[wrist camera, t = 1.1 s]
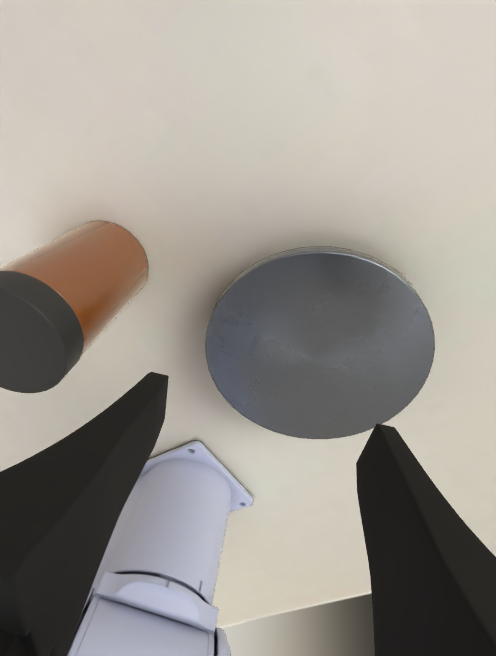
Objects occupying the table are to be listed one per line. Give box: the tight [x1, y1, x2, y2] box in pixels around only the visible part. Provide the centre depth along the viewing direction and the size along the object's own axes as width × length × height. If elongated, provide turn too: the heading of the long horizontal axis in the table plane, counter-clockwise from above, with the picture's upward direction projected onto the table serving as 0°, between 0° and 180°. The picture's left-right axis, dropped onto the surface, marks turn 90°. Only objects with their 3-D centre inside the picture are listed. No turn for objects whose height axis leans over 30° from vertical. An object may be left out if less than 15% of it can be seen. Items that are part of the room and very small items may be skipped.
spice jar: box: [0, 221, 148, 393], centre depth 18 cm, size 5×5×9 cm
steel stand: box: [205, 246, 435, 439], centre depth 21 cm, size 12×12×3 cm
